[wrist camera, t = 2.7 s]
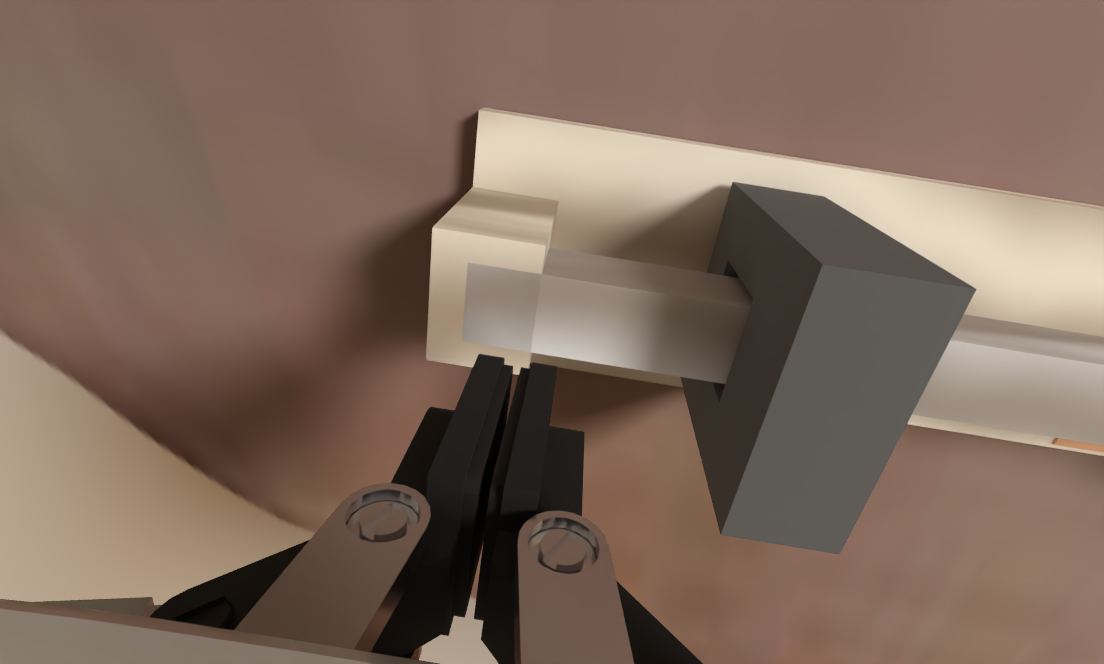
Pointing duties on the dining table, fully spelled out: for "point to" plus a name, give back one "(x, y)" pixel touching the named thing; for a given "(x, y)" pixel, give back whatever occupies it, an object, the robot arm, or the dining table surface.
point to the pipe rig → (724, 302)
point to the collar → (815, 365)
